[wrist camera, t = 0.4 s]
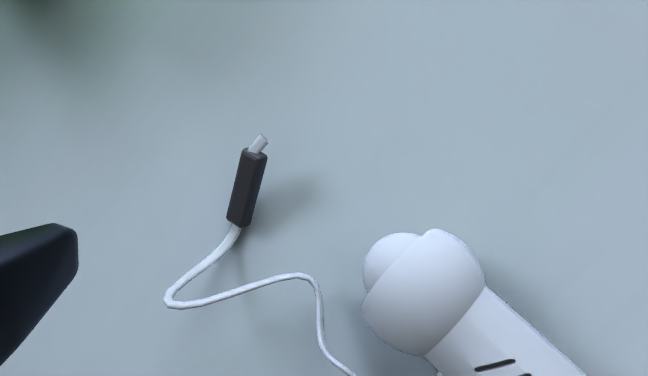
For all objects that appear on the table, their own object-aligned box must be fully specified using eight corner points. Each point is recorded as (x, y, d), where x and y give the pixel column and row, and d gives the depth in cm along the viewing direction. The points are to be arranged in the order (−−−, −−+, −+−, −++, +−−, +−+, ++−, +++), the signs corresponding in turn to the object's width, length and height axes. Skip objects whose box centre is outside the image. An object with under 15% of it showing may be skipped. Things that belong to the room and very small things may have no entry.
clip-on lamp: (181, 290, 27) (438, 596, 20) (90, 294, 21) (412, 727, 14) (319, 122, 26) (638, 389, 19) (265, 76, 20) (698, 441, 13)
